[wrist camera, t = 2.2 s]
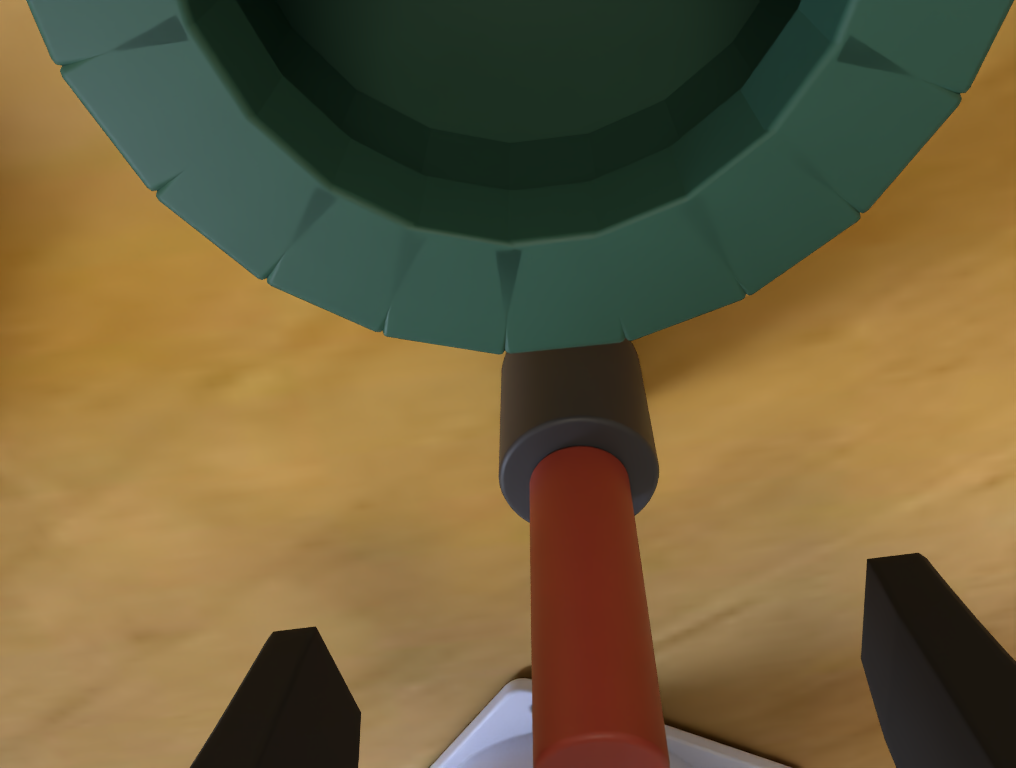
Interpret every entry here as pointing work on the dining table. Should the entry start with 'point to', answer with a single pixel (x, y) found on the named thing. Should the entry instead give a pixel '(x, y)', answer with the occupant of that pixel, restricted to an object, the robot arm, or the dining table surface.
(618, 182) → the teal tube ring
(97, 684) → the dining table surface
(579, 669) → the red grey stepped cylinder
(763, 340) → the dining table surface
